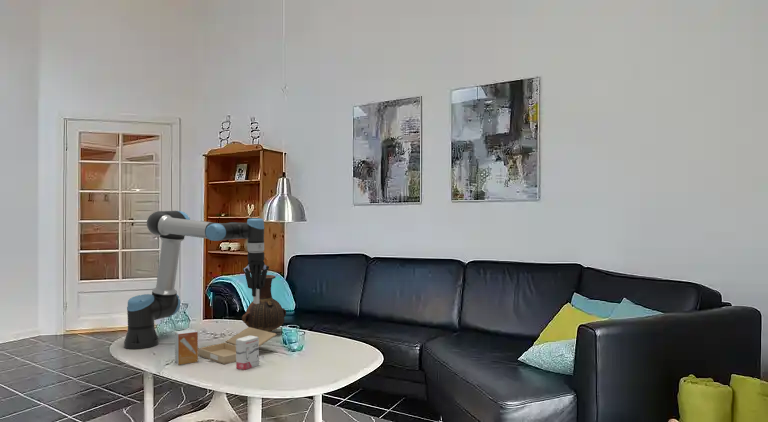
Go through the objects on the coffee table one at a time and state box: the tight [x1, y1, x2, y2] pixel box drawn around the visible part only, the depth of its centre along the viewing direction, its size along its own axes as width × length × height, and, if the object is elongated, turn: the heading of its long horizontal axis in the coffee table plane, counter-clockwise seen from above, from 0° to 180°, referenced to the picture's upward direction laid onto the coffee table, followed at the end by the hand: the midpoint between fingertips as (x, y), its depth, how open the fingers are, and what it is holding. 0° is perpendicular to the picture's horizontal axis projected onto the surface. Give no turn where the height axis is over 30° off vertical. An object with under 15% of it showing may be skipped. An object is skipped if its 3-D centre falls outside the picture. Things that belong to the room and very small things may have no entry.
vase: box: [241, 274, 287, 333], centre depth 283 cm, size 25×20×30 cm
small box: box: [174, 328, 199, 366], centre depth 232 cm, size 8×6×13 cm
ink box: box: [235, 336, 260, 371], centre depth 224 cm, size 9×5×12 cm, turn 148°
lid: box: [224, 326, 277, 347], centre depth 250 cm, size 22×14×1 cm, turn 47°
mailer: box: [198, 342, 236, 365], centre depth 240 cm, size 21×14×3 cm, turn 47°
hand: (256, 303), depth 252 cm, fingers closed
